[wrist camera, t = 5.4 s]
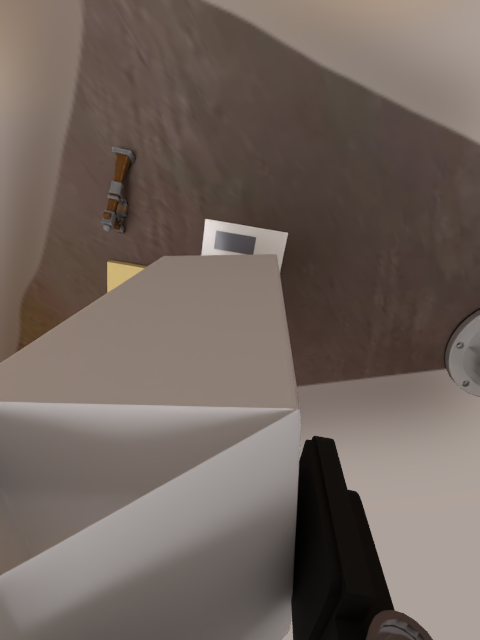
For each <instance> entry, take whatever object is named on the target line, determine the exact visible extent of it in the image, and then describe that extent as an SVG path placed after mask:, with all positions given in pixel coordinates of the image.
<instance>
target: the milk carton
mask: <svg viewBox="0 0 480 640" xmlns="http://www.w3.org/2000/svg"><path fill="white" fill-rule="evenodd" d="M300 416H301V414H300V408H299V400H298V394H297V387H296V380H295V373H294V366H293V360H292V353H291V346H290V340H289V333H288V326H287V319H286V313H285V306H284V299H283V292H282V286H281V279H280V272H279V265H278V259H277V255H276V254H261V255H202V256H163V257H162V258H160V259H158V260H157V261H155V262H154V263H152V264H151V265H149V266H148V267H146V268H145V269H143V270H142V271H140V272H139V273H137V274H136V275H134V276H133V277H131V278H130V279H128V280H126V281H125V282H123V283H122V284H120V285H119V286H117V287H116V288H114V289H113V290H111V291H110V292H108V293H107V294H105V295H104V296H102V297H101V298H99V299H97V300H96V301H94V302H93V303H91V304H90V305H88V306H87V307H85V308H84V309H82V310H81V311H79V312H78V313H76V314H75V315H73V316H72V317H70V318H68V319H67V320H65V321H64V322H62V323H61V324H59V325H58V326H56V327H55V328H53V329H52V330H50V331H49V332H47V333H46V334H44V335H43V336H41V337H39V338H38V339H36V340H35V341H33V342H32V343H30V344H29V345H27V346H26V347H24V348H23V349H21V350H20V351H18V352H17V353H15V354H14V355H12V356H11V357H9V358H7V359H6V360H5V361H3V362H1V363H0V640H282V639H283V637H284V636H285V635H286V634H287V633H288V632H289V629H290V624H291V615H292V608H291V599H292V594H293V576H294V556H295V536H296V516H297V496H298V476H299V455H300V432H301V430H300V429H301V417H300Z"/></svg>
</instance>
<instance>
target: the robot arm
mask: <svg viewBox="0 0 480 640" xmlns="http://www.w3.org/2000/svg"><path fill="white" fill-rule="evenodd" d="M445 364H446V369H447V371H448V374H449V376H450V377H451V379H452V380H453V381H454V382H455V383H456V384H457V385H458V386H459V387H460V388H461V389H463V390H464V391H466V392H468V393H470V394H472V395H475V396H478V397H480V310H478V311H477V312H475V313H474V314H472V315H471V316H470V317H468V318H467V319H466V320H465V321H464V322H463V323H462V324H461V325H460V326H459V327H458V328H457V329H456V331H455V332H454V333H453V335H452V337H451V339H450V341H449V343H448V346H447V349H446V353H445ZM291 608H292V625H293V640H433V639H432V638H431V636H430V635H429V634H428V632H427V631H426V630H425V629H424V628H423V627H422V626H420V625H419V624H418V623H417V622H416V621H415V620H414V619H412V618H410V617H409V616H407V615H405V614H404V613H401V612H397V611H395V610H394V607H393V604H392V600H391V597H390V594H389V590H388V587H387V584H386V581H385V577H384V574H383V571H382V567H381V564H380V561H379V557H378V554H377V551H376V548H375V544H374V541H373V538H372V534H371V531H370V528H369V525H368V521H367V518H366V515H365V511H364V508H363V505H362V501H361V499H360V496H359V494H358V493H357V492H355V491H351V490H347V486H346V483H345V479H344V476H343V472H342V468H341V464H340V461H339V457H338V453H337V449H336V446H335V442H334V440H333V439H330V438H324V437H319V436H314V437H313V438H312V440H306V441H305V444H304V448H303V451H302V454H301V457H300V461H299V476H298V496H297V516H296V536H295V556H294V576H293V594H292V599H291Z"/></svg>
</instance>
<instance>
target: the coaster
mask: <svg viewBox="0 0 480 640" xmlns="http://www.w3.org/2000/svg"><path fill="white" fill-rule="evenodd" d="M146 267H148V266H144V265H138V264H132V263H126V262H120V261H114V260H110V261H108V262H107V286H108V292H110V291H111V290H113V289H114V288H116V287H117V286H119V285H120V284H122V283H123V282H125V281H126V280H128V279H130V278H131V277H133V276H134V275H136V274H137V273H139V272H140V271H142V270H143V269H145V268H146Z"/></svg>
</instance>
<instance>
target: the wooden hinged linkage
mask: <svg viewBox="0 0 480 640" xmlns="http://www.w3.org/2000/svg"><path fill="white" fill-rule="evenodd" d="M112 148H113V149H112V152H113V153H114V155H115V156H116V163H115V175H114V180H113V181H111V187H110V190H109V193H110V195H108V198H109V201H108V205H107V209H106V210H104V214H103V218H102V221H101V223H102V224H103V225H104V226H103V229H104V230H105V231H110V230H111V227H112V228H113V229H114V230H115V231H117V232H118V233H123V234H124V230H125V229H124V228H123V226H122V225H121V224H119V223H121V221H122V220H123V219H122V218H123V217H128V216H127V215H126V212H127V209H128V205H127V201H126V199H121V200H120V198H122V193H123V189H124V186H123V183H124V179H125V176H126V173H127V170H128V167H129V165H130V163H135V160H136V159H135V158H134V156H133V154H132V153H131V151H130V150H125V149H120V148H116V147H112ZM117 214H118V217H117ZM117 218H118V219H117ZM118 220H120V221H118Z"/></svg>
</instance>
